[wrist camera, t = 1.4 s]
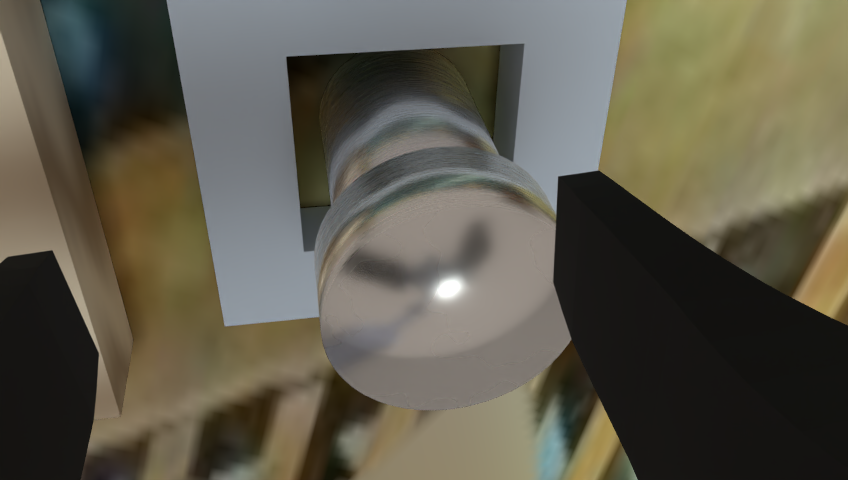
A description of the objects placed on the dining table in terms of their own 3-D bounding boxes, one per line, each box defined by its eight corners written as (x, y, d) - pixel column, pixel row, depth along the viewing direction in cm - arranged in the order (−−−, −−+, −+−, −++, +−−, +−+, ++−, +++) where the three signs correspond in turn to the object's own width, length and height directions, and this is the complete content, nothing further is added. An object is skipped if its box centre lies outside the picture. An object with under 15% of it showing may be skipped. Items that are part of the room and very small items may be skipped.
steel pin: (482, 187, 23) (568, 395, 17) (306, 201, 22) (328, 423, 16) (494, 18, 20) (604, 195, 14) (292, 29, 19) (311, 219, 13)
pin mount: (556, 249, 25) (577, 290, 23) (226, 279, 24) (224, 326, 22) (605, -89, 19) (637, -63, 17) (166, -75, 18) (158, -46, 16)
